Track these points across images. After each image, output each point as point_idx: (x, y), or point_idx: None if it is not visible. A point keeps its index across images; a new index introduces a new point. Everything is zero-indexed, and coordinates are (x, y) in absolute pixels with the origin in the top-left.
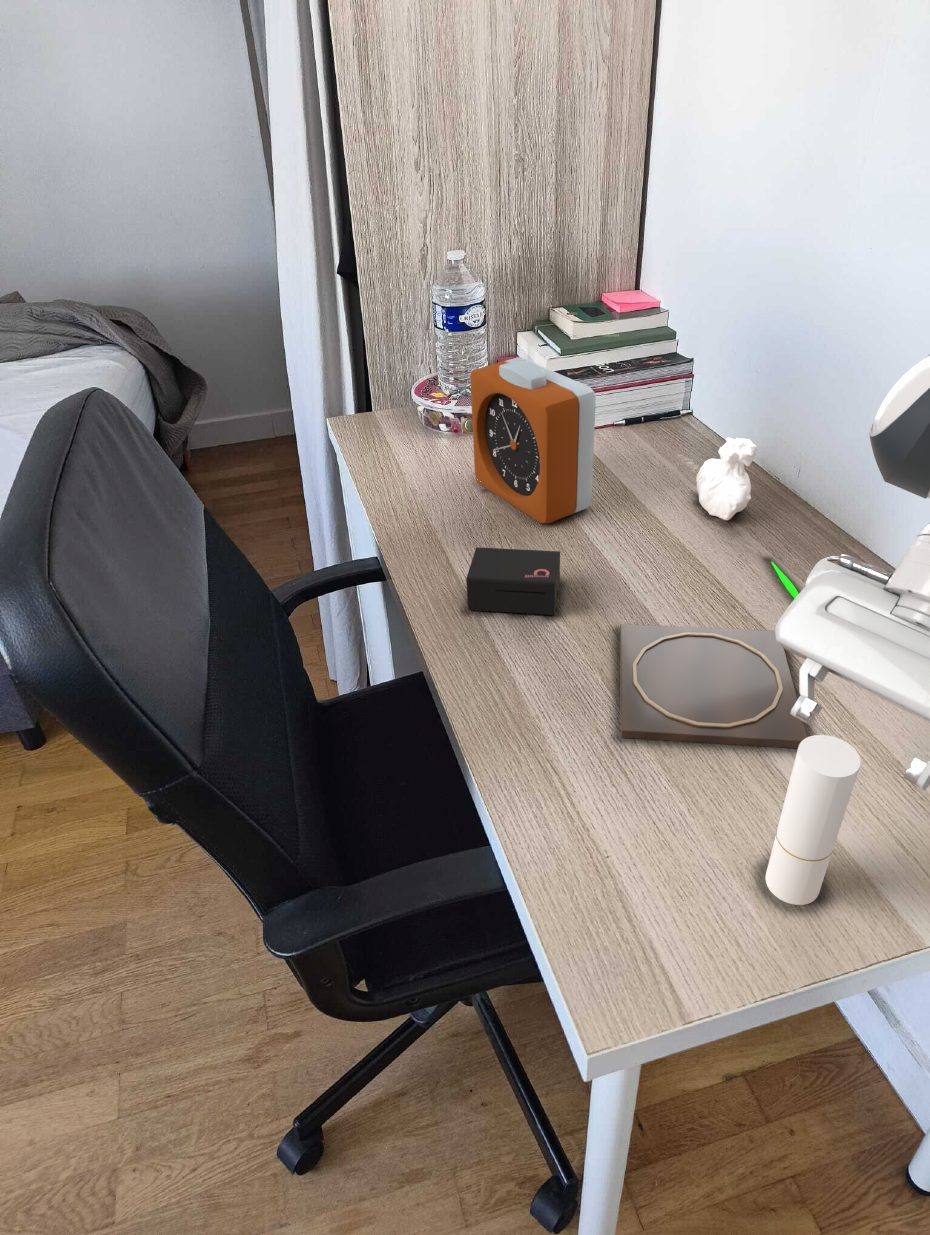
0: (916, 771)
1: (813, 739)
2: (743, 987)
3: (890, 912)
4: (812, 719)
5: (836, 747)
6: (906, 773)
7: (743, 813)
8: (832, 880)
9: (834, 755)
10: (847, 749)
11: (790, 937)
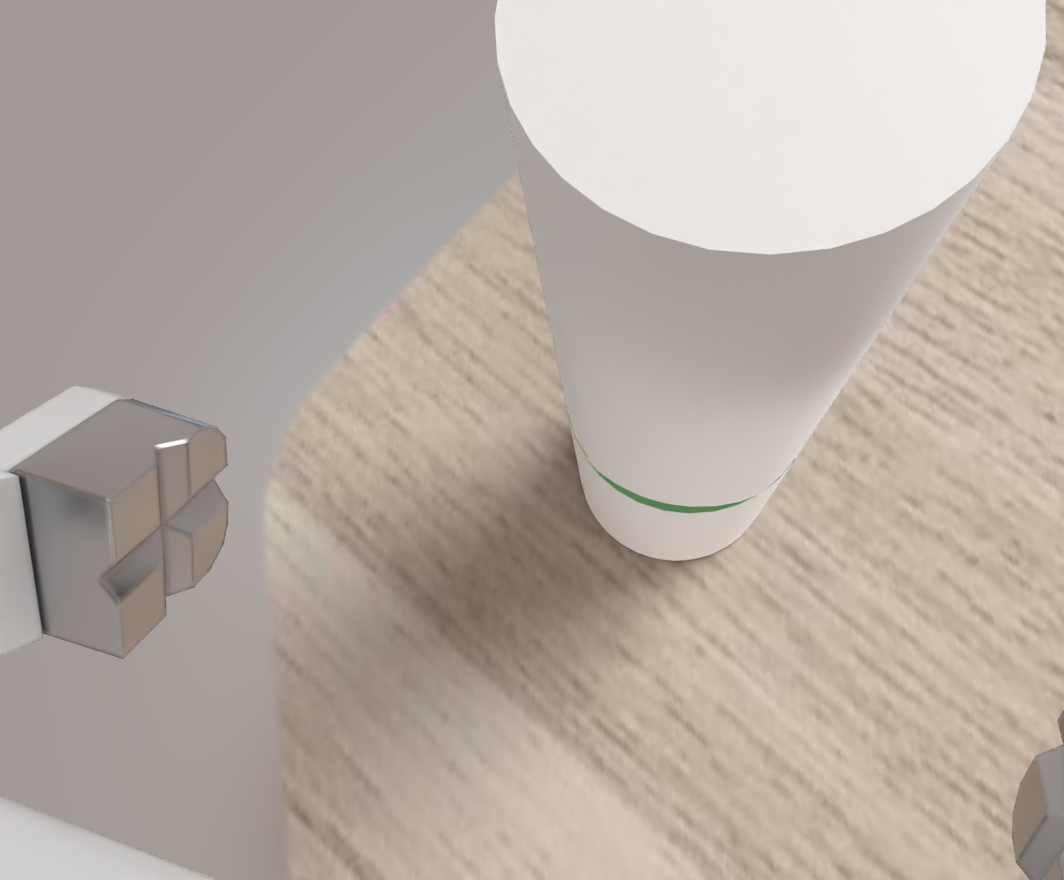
0: (116, 429)
1: (959, 114)
2: None
3: (353, 522)
4: (1040, 802)
5: (734, 134)
6: (195, 426)
7: (962, 709)
8: (553, 554)
9: (719, 25)
10: (639, 162)
11: None
